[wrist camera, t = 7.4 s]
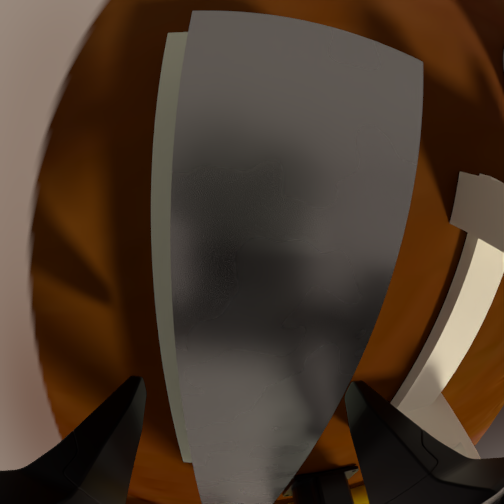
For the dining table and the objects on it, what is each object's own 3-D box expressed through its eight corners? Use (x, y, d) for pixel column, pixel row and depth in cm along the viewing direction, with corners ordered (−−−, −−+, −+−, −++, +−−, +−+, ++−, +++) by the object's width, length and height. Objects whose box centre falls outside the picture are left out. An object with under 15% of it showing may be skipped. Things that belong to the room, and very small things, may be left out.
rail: (264, 457, 14) (270, 506, 10) (204, 455, 14) (202, 506, 10) (344, 91, 7) (422, 62, 3) (211, 71, 6) (192, 10, 3)
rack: (425, 413, 16) (461, 482, 8) (352, 432, 15) (383, 522, 8) (523, 196, 9) (618, 245, 2) (460, 164, 9) (614, 222, 1)
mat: (280, 455, 16) (282, 463, 15) (184, 453, 15) (183, 461, 14) (375, 70, 7) (386, 66, 6) (172, 41, 7) (168, 33, 6)
